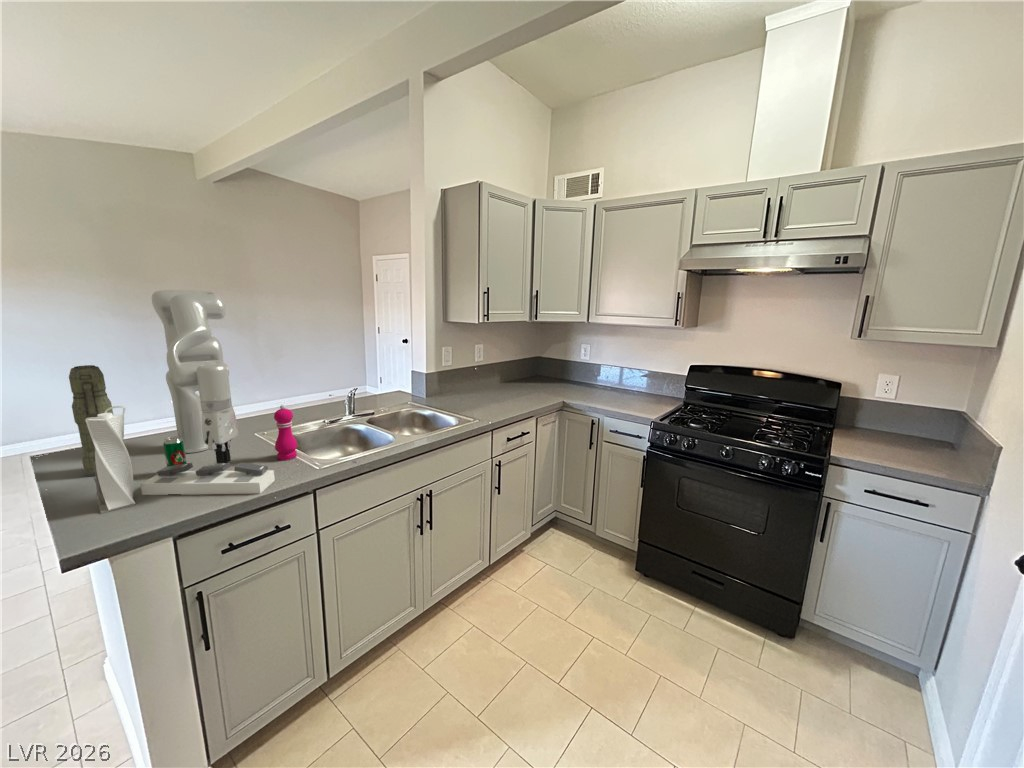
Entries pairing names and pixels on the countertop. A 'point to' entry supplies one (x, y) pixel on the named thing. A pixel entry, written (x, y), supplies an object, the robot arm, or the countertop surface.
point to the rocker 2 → (251, 468)
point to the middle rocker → (212, 469)
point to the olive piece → (88, 406)
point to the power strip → (208, 483)
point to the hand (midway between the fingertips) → (223, 462)
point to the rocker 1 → (174, 469)
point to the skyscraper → (111, 461)
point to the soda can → (174, 451)
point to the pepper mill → (285, 434)
